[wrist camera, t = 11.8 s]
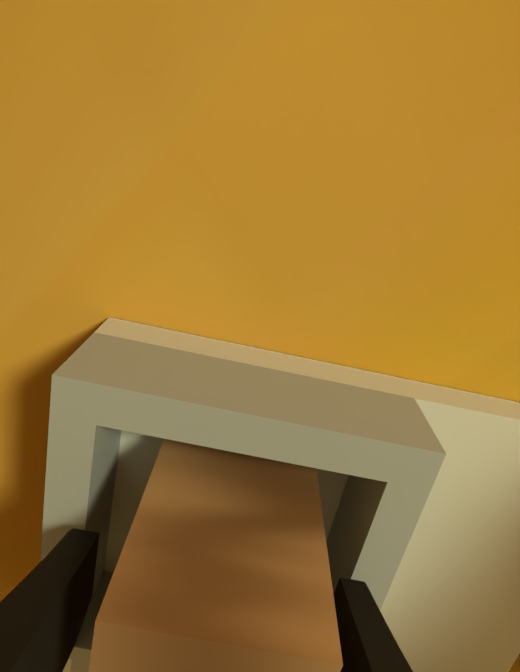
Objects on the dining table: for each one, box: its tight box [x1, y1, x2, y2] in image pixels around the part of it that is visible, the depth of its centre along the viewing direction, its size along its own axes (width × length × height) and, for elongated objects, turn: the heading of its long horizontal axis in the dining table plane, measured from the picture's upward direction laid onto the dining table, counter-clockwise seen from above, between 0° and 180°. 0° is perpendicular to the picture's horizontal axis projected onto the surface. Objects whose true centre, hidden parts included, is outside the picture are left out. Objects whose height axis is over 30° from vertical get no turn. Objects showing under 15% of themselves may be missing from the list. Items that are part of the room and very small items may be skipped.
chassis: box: [40, 317, 520, 672], centre depth 14 cm, size 15×17×5 cm
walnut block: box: [89, 439, 343, 672], centre depth 11 cm, size 4×4×6 cm
